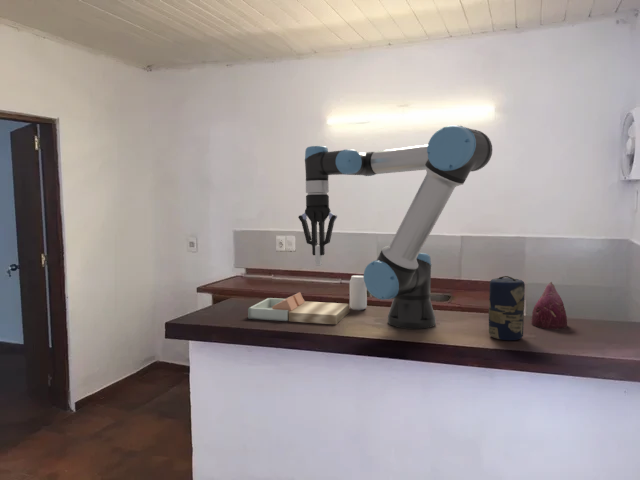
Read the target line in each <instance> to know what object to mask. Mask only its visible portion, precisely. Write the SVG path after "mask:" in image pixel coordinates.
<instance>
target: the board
mask: <svg viewBox="0 0 640 480" xmlns="http://www.w3.org/2000/svg"><path fill="white" fill-rule="evenodd" d="M349 313H350V303H341V302H338V303H337V302H324V301H323V302H320V301H308V300H307V301H305V302H304V303H303V304H301V305H300V306H298V307H297V308H295V309H293V310H292V311H290V312H289V321H288V322H295V323H309V324H323V325H337V324H338V323H339V322H341V321H342V319H344V317H346V316H347V315H348V314H349Z"/></svg>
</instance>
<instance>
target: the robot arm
mask: <svg viewBox="0 0 640 480" xmlns="http://www.w3.org/2000/svg"><path fill="white" fill-rule="evenodd" d="M492 155H493V144H492V141H491V139H490V137H488V135H487V134H486V133H484V132H482V131H481V130H477V129H473V128H469V127H465V126H462V125H447V126H443V127H442V128H440V129H437V131H435V132H434V133H433V135H432V136H431V137H430V139H429V141H428V144H424V145H414V146H407V147H406V146H405V147H399V148H391V149H385V150H384V149H382V150H375V151H368V152H367V151H366V152H359V151H357V150H356V149H342V150H334V151H333V150H332V151H329V149H328V147H327V146H325V145H311V146H307V147H306V148H305V153H304V167H305V193H306V196H305V206H306V207H305V210H304V213H302V214H300V215H298V219H299V221H300V222H301V225H302V230H303V235H304V237H305V238H304V239H305V241H306V244H307V245H310V246H311V249H312V250H311V251H312V253H311V254H312V256H315V259H314V261H315V263H314V265H315V266H316V267H317V266H320V267H321V266H322V265H323V259H322V258H323V256H324V255H325V254H326V253H325V251H326V250H325V245H328V244H330V243H331V238H332V234H333V230H334V225H335V221H336V220H337V218H338V215H337V214H334V213H333V212H331V208H330V199H329V198H330V197H329V191H330V190H329V185H330V184H329V176H337V175H338V176H339V175H340V176H342V175H345V176H364V177H369V176H370V177H371V176H375V175H381V174H384V175H385V174H391V173H393V174H395V173H403V172H404V173H405V172H417V171H426V174H425V176H424V178H423V180H422V182H421V184H420V186H419V187H418V190H417V191H416V194H415V196H414V197H413V199H412V202H411V203H410V205H409V207H408V209H407V211H406V212H405V216H404V217H403V219H402V221H401V222H400V225H399V226H398V229H397V231H396V233H395V234H394V236H393V238H392V240H391V243H390V244H389V245H386V246H383V247H382V248H381V250H380V252H379V253H378V256H377V258H376V260H373V261H371V262H369V263H368V264H367V265H366V266H365V268H364V272H363V276H364V282H365V284H366V285H365V286H366V288H367V292H368V293H370V294H371V296H373V297H374V298H376V299H378V300H383V301H384V300H391V299H393V300H392V302H391V305H390V308H389V311H388V315H387V324H389V325H391V326H392V327H396V328H402V329H410V330H411V329H413V330H414V329H415V330H416V329H418V330H419V329H428V328H431V327H435V326H436V325H437V323H436V321H437V320H436V319H437V318H436V314H435V312H434V309H433V304H432V301H431V285H432V283H431V281H432V278H431V275H432V262H431V256H430V255H429V254H428V253H425V252H421V251H422V249H423V247H424V245H425V244H426V241H427V240H428V238H429V237H430V234H431V233H432V230H433V229H434V227H435V225H436V223H437V221H438V220H439V217H441V214H442V213H443V211H444V208H445V206H446V205H447V203H448V201H449V200H450V197H451V196H452V194H453V192H454V190H455V188H457V187H458V186H461V185H464V183H465V182H466V180H467V178H468V176H469V175H470V173H471V172H476V171H479V170H481V169H483V168H485V167H486V166H487V165H488V164H489V162H490V160H491V158H492ZM327 218H328V225H327V229H326V235H325V224H326V223H325V222H326V220H327ZM307 219H309V221H310V225H311V231H310V229H309V224H308V220H307ZM318 236H319V238H318ZM318 239H319V244H318Z"/></svg>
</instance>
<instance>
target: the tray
mask: <svg viewBox="0 0 640 480" xmlns="http://www.w3.org/2000/svg"><path fill="white" fill-rule="evenodd" d="M284 299H285V298H277V297H274V298H273V297H267V298H266V299H263V300H261V301H260V302H257V303H256V304H254V305H252V306H250V307H248V308H247V314H248V315H247V317H248V319H250V320H251V319H252V320H265V321H280V322H281V321H282V322H290V321H289V312H288V310H280V309H272V306H274V305H276V304H277V303H279V302H281V301H283V300H284Z"/></svg>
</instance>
